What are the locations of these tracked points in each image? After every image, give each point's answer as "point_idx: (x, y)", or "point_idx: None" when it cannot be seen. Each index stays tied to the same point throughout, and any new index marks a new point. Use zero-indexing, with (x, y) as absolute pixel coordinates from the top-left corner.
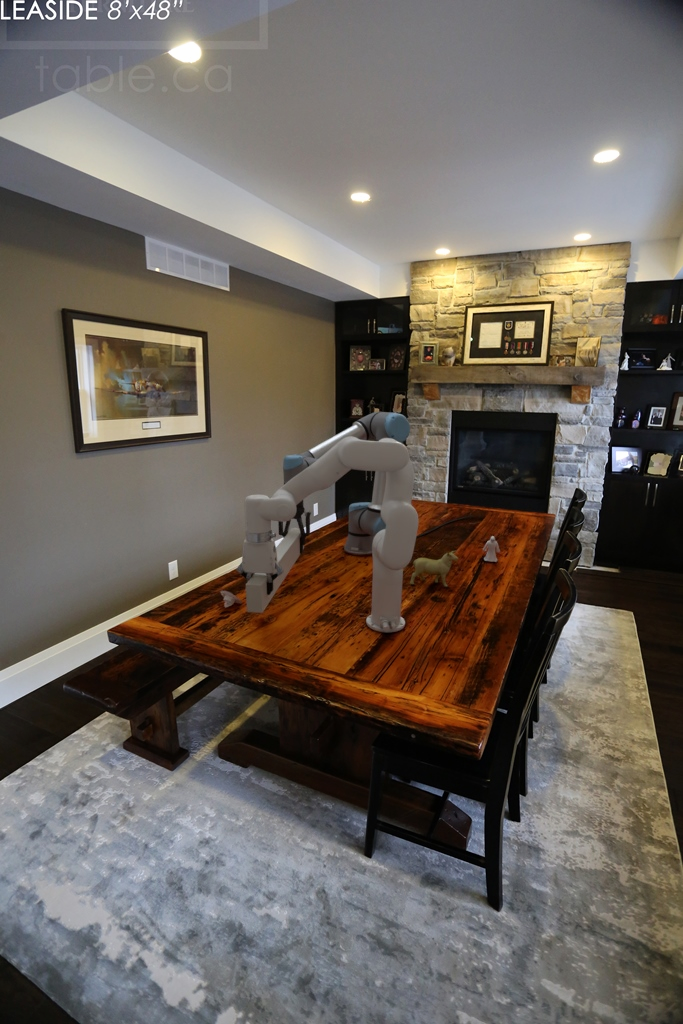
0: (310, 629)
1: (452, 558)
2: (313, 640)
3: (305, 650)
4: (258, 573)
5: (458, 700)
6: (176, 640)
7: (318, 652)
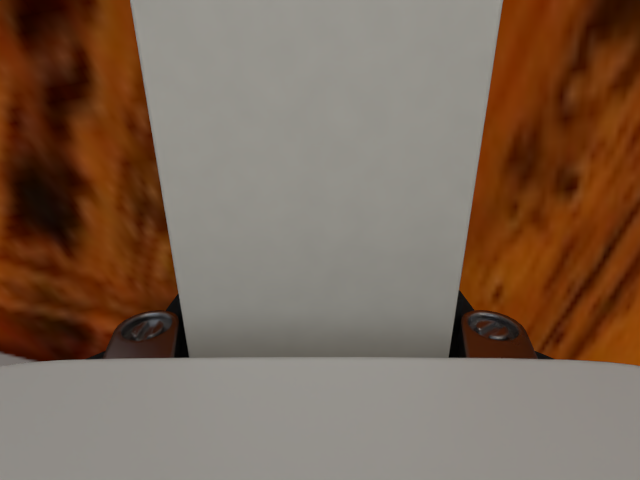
0: (549, 144)
1: None
2: (559, 242)
3: (525, 317)
4: (248, 304)
5: None
6: (13, 329)
7: (573, 322)
